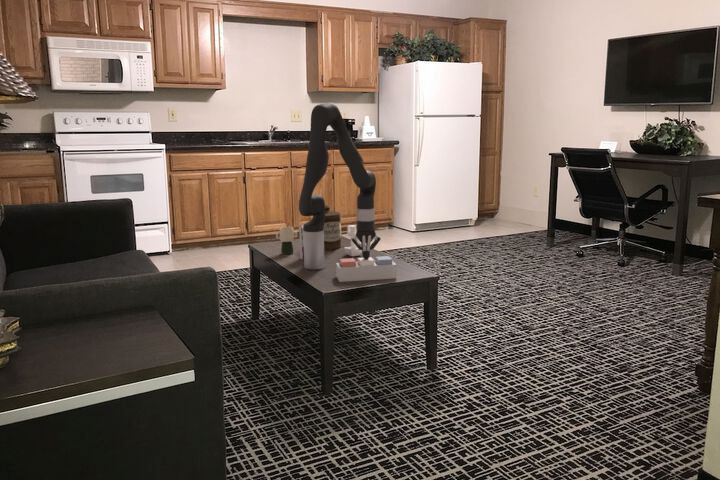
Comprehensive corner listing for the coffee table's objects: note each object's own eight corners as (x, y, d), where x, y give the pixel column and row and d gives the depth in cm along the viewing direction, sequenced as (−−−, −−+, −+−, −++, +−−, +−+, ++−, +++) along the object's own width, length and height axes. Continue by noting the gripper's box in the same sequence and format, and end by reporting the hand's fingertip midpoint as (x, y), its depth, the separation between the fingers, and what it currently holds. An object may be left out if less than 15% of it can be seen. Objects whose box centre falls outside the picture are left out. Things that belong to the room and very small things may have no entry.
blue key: (375, 268, 253) (375, 256, 252) (388, 267, 254) (388, 256, 253) (378, 271, 248) (378, 260, 247) (392, 270, 249) (392, 259, 248)
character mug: (296, 251, 301) (295, 226, 298) (299, 254, 294) (298, 228, 291) (275, 253, 297) (274, 227, 294) (278, 256, 290) (277, 230, 288)
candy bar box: (321, 256, 289) (320, 223, 286) (324, 258, 285) (323, 225, 281) (299, 258, 285) (298, 225, 282) (302, 260, 281) (301, 226, 277)
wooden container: (320, 251, 300) (319, 208, 296) (309, 245, 313) (307, 205, 309) (346, 247, 307) (345, 206, 303) (334, 242, 320) (333, 202, 315)
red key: (339, 270, 250) (339, 258, 249) (353, 269, 252) (353, 258, 250) (342, 273, 245) (342, 262, 244) (356, 272, 246) (356, 261, 245)
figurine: (352, 257, 285) (351, 227, 282) (342, 254, 293) (342, 224, 290) (364, 255, 289) (364, 226, 286) (355, 252, 297) (354, 223, 294)
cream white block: (357, 269, 252) (357, 257, 251) (371, 268, 253) (371, 257, 252) (360, 272, 246) (360, 261, 245) (374, 271, 247) (374, 260, 246)
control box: (336, 276, 252) (336, 262, 251) (391, 273, 257) (391, 259, 255) (339, 281, 244) (339, 267, 242) (396, 278, 248) (396, 264, 247)
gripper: (379, 216, 250) (379, 256, 253) (348, 218, 247) (349, 258, 251) (383, 219, 243) (383, 260, 246) (351, 221, 240) (352, 262, 244)
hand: (365, 259), depth 248 cm, fingers closed
